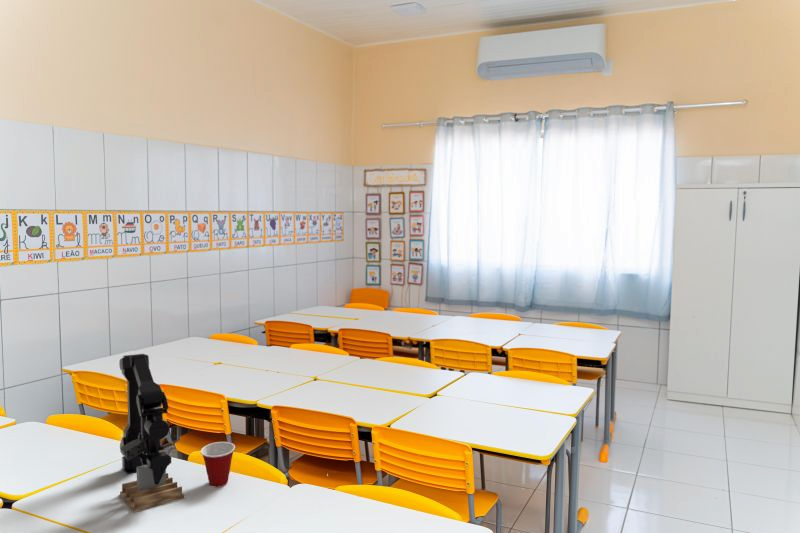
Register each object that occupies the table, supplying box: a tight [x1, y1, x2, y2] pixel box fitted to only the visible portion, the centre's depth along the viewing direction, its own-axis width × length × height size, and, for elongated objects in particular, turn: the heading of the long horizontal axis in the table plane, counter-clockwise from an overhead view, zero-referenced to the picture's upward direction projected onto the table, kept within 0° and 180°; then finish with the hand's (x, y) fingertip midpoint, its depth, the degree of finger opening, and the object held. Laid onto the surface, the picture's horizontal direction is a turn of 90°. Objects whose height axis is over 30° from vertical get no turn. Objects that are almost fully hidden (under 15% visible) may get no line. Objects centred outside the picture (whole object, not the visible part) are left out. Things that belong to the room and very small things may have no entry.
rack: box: [119, 472, 185, 513], centre depth 193 cm, size 15×14×4 cm
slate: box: [136, 465, 167, 492], centre depth 193 cm, size 8×2×9 cm, turn 129°
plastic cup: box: [200, 441, 236, 488], centre depth 203 cm, size 11×11×12 cm
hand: (151, 479), depth 193 cm, fingers open, 9 cm apart
